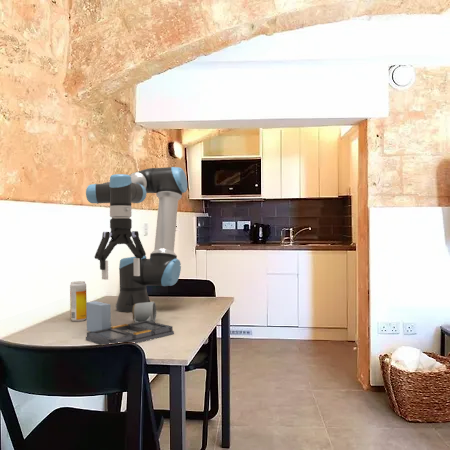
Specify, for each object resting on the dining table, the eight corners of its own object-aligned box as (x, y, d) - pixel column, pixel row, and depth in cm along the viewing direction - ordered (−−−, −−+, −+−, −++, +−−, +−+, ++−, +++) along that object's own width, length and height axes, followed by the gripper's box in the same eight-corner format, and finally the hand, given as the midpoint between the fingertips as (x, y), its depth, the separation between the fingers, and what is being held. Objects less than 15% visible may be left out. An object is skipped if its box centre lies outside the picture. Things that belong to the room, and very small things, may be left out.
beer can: (89, 319, 183) (89, 281, 183) (80, 322, 178) (79, 283, 178) (77, 318, 185) (76, 280, 185) (67, 321, 180) (66, 282, 180)
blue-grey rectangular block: (86, 330, 164) (86, 302, 164) (95, 328, 167) (95, 301, 167) (102, 334, 157) (101, 305, 157) (110, 333, 160) (110, 304, 160)
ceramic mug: (135, 319, 181) (135, 300, 181) (156, 319, 181) (156, 300, 181) (130, 326, 170) (129, 305, 170) (152, 326, 170) (151, 305, 170)
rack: (85, 339, 151) (85, 331, 151) (145, 327, 168) (145, 319, 168) (113, 348, 140) (112, 339, 140) (173, 334, 157) (173, 325, 157)
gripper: (96, 217, 153) (96, 281, 152) (154, 218, 171) (155, 275, 171) (83, 217, 157) (84, 280, 157) (142, 218, 176) (142, 273, 176)
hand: (121, 277), depth 164 cm, fingers open, 13 cm apart
